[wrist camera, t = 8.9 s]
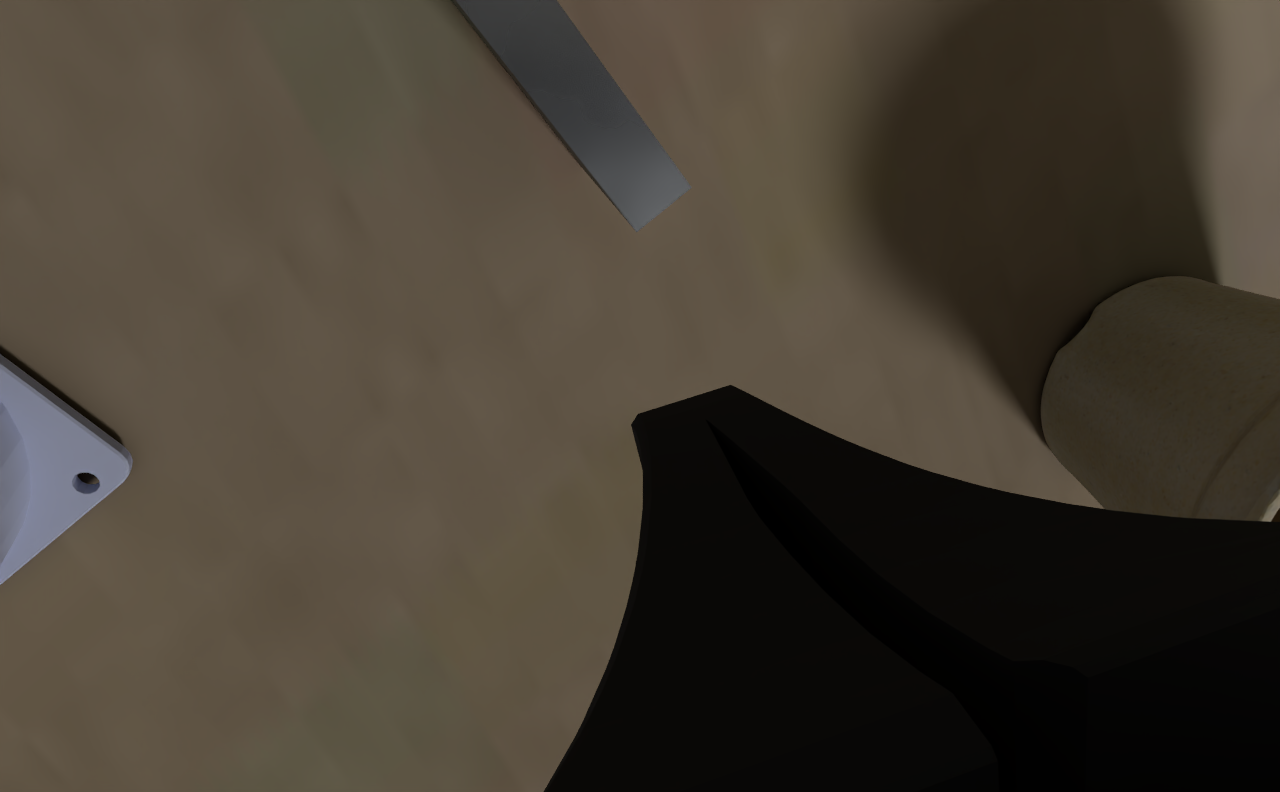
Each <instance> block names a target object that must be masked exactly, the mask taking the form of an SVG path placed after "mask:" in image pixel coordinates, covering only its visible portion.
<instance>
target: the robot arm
mask: <svg viewBox="0 0 1280 792" xmlns="http://www.w3.org/2000/svg"><path fill="white" fill-rule="evenodd" d="M631 426H632V430H633V434H634V438H635V442H636V446H637V449H638V453H639V457H640V461H641V465H642V469H643V511H642V521H641V530H640V539H639V548H638V555H637V561H636V566H635V572H634V577H633V582H632V586H631V590H630V594H629V599H628V603H627V607H626V610H625V613H624V617H623V620H622V623H621V627H620V630H619V633H618V636H617V640H616V643H615V646H614V649H613V651H612V654H611V657H610V660H609V663H608V665H607V668H606V670H605V672H604V675H603V677H602V679H601V682H600V684H599V686H598V688H597V691H596V693H595V695H594V698H593V700H592V702H591V704H590V707H589V709H588V711H587V713H586V716H585V718H584V720H583V722H582V724H581V726H580V728H579V730H578V732H577V734H576V736H575V738H574V740H573V742H572V743H571V745H570V747H569V749H568V750H567V752H566V754H565V756H564V757H563V759H562V761H561V762H560V764H559V766H558V768H557V769H556V771H555V773H554V775H553V776H552V778H551V780H550V782H549V783H548V785H547V787H546V789H545V790H544V792H1280V522H1269V521H1246V520H1223V519H1199V518H1182V517H1170V516H1161V515H1152V514H1142V513H1133V512H1124V511H1114V510H1107V509H1100V508H1093V507H1086V506H1079V505H1072V504H1066V503H1061V502H1056V501H1050V500H1045V499H1040V498H1035V497H1030V496H1024V495H1019V494H1014V493H1009V492H1005V491H1001V490H996V489H992V488H988V487H983V486H979V485H976V484H972V483H969V482H965V481H962V480H958V479H954V478H951V477H947V476H944V475H940V474H937V473H933V472H930V471H927V470H924V469H921V468H917V467H914V466H911V465H908V464H906V463H903V462H900V461H897V460H895V459H892V458H889V457H887V456H884V455H882V454H879V453H876V452H874V451H871V450H868V449H866V448H863V447H861V446H858V445H856V444H854V443H851V442H849V441H846V440H844V439H842V438H839V437H837V436H835V435H833V434H830V433H828V432H826V431H824V430H822V429H819V428H817V427H815V426H813V425H811V424H809V423H806V422H804V421H802V420H800V419H798V418H796V417H794V416H792V415H790V414H788V413H786V412H784V411H782V410H780V409H778V408H776V407H774V406H772V405H770V404H768V403H766V402H764V401H762V400H760V399H758V398H756V397H754V396H752V395H750V394H748V393H746V392H744V391H742V390H740V389H738V388H736V387H734V386H732V385H729V386H726V387H722V388H719V389H716V390H713V391H710V392H707V393H703V394H700V395H697V396H694V397H691V398H687V399H684V400H681V401H678V402H675V403H672V404H668V405H665V406H662V407H659V408H656V409H652V410H649V411H646V412H643V413H640V414H638V415H637V416H636V418H635V420H634V421H633V423H632V424H631ZM132 463H133V460H132V457H131V454H130V452H129V451H128V450H127V449H126V448H125V447H124V446H123V445H121V444H120V443H119V442H117V441H116V440H115V439H113V438H112V437H111V436H109V435H108V434H107V433H105V432H104V431H103V430H101V429H100V428H99V427H97V426H96V425H95V424H93V423H92V422H91V421H89V420H88V419H87V418H85V417H84V416H83V415H81V414H80V413H79V412H77V411H76V410H75V409H73V408H72V407H71V406H69V405H68V404H67V403H65V402H64V401H63V400H61V399H60V398H59V397H57V396H56V395H55V394H53V393H52V392H51V391H49V390H48V389H47V388H45V387H44V386H43V385H41V384H40V383H38V382H37V381H36V380H34V379H33V378H32V377H30V376H29V375H28V374H26V373H25V372H24V371H22V370H21V369H20V368H18V367H17V366H16V365H14V364H13V363H12V362H10V361H9V360H8V359H6V358H5V357H4V356H2V355H1V354H0V585H1V584H2V583H3V582H4V581H6V580H7V579H8V578H9V577H10V576H12V575H13V574H14V573H15V572H16V571H17V570H19V569H20V568H21V567H22V566H23V565H25V564H26V563H27V562H28V561H29V560H31V559H32V558H33V557H34V556H35V555H37V554H38V553H39V552H40V551H41V550H43V549H44V548H45V547H46V546H47V545H49V544H50V543H51V542H52V541H53V540H55V539H56V538H57V537H58V536H59V535H61V534H62V533H63V532H64V531H65V530H67V529H68V528H69V527H70V526H71V525H73V524H74V523H75V522H76V521H77V520H79V519H80V518H81V517H82V516H83V515H85V514H86V513H87V512H88V511H89V510H91V509H92V508H93V507H94V506H95V505H97V504H98V503H99V502H100V501H101V500H103V499H104V498H105V497H106V496H107V495H109V494H110V493H111V492H112V491H113V490H115V489H116V488H117V487H118V486H119V485H120V484H122V483H123V482H124V481H125V479H126V478H127V477H128V475H129V473H130V471H131V469H132ZM79 473H91V474H93V475H95V476H96V477H97V478H98V479H99V483H97V484H87V483H84V482H82V481H81V480H80V479H79V478H78V476H77V474H79Z"/></svg>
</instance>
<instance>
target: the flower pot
mask: <svg viewBox="0 0 1280 792" xmlns="http://www.w3.org/2000/svg"><path fill="white" fill-rule="evenodd" d="M1041 422H1042V429H1043V433H1044V437H1045V440H1046V442H1047V444H1048V446H1049V448H1050V450H1051V451H1052V453H1053V454H1054V455H1055V457H1056V458H1057V459H1058V460H1059V462H1060V463H1061V464H1062V465H1063V466H1064V467H1065V468H1066V469H1067V470H1068V471H1069V472H1070V473H1071V474H1072V475H1073V476H1074V477H1075V478H1076V479H1077V480H1078V481H1079V482H1080V483H1081V484H1082V485H1083V486H1084V487H1085V488H1086V489H1087V490H1088V491H1089V492H1090V493H1091V495H1092V496H1093V497H1094V498H1095V499H1096V500H1097V501H1098V502H1099V503H1100V504H1101V505H1102V506H1103V507H1104V509H1107V510H1114V511H1124V512H1133V513H1142V514H1152V515H1161V516H1170V517H1182V518H1199V519H1223V520H1246V521H1269V522H1280V299H1276V298H1272V297H1268V296H1264V295H1259V294H1255V293H1251V292H1247V291H1243V290H1239V289H1235V288H1231V287H1227V286H1223V285H1219V284H1215V283H1210V282H1207V281H1204V280H1201V279H1197V278H1193V277H1185V276H1167V277H1159V278H1153V279H1150V280H1146V281H1143V282H1140V283H1137V284H1135V285H1132V286H1130V287H1128V288H1125V289H1123V290H1121V291H1119V292H1118V293H1116V294H1114V295H1113V296H1111V297H1109V298H1107V299H1106V300H1105V301H1103V302H1102V303H1100V304H1099V305H1098V306H1097V307H1096V308H1095V309H1094V311H1093V313H1092V315H1091V317H1090V319H1089V321H1088V322H1087V323H1086V325H1085V326H1084V328H1083V329H1082V330H1081V331H1080V332H1079V333H1078V334H1077V335H1076V336H1075V337H1074V338H1073V339H1072V340H1071V341H1070V342H1069V343H1068V344H1067V345H1065V346H1064V347H1062V348H1061V349H1060V350H1059V351H1058V352H1057V354H1056V356H1055V358H1054V360H1053V362H1052V364H1051V366H1050V369H1049V372H1048V375H1047V378H1046V381H1045V385H1044V388H1043V394H1042V399H1041Z"/></svg>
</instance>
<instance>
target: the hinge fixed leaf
mask: <svg viewBox="0 0 1280 792" xmlns="http://www.w3.org/2000/svg"><path fill="white" fill-rule="evenodd" d="M451 1H452V2H453V4H454V5H455V6H456V7H457V9H458V10H459V11H460V12H461V14H462V15H463V16H464V18H465V19H466V20H467V21H468V23H469V24H470V25H471V27H472V28H473V29H474V30H475V32H476V33H477V34H478V35H479V37H480V38H481V39H482V41H483V42H484V43H485V44H486V46H487V47H488V48H489V49H490V51H491V52H492V53H493V55H494V56H495V57H496V58H497V60H498V61H499V62H500V64H501V65H502V66H503V67H504V69H505V70H506V71H507V72H508V74H509V75H510V76H511V78H512V79H513V80H514V81H515V83H516V84H517V85H518V86H519V88H520V89H521V90H522V92H523V93H524V94H525V95H526V97H527V98H528V99H529V101H530V102H531V103H532V104H533V106H534V107H535V108H536V109H537V111H538V112H539V113H540V115H541V116H542V117H543V118H544V120H545V121H546V122H547V123H548V125H549V126H550V127H551V129H552V130H553V131H554V132H555V134H556V135H557V136H558V137H559V139H560V140H561V141H562V143H563V144H564V145H565V146H566V148H567V149H568V150H569V152H570V153H571V154H572V155H573V157H574V158H575V159H576V160H577V162H578V163H579V164H580V166H581V167H582V168H583V169H584V171H585V172H586V173H587V174H588V175H589V176H590V178H591V179H592V180H593V181H594V182H595V184H596V185H597V186H598V187H599V188H600V189H601V191H602V192H603V193H604V194H605V195H606V196H607V198H608V199H609V200H610V201H611V202H612V204H613V205H614V206H615V207H616V208H617V209H618V211H619V212H620V213H621V214H622V215H623V217H624V218H625V219H626V220H627V221H628V222H629V224H630V225H631V226H632V227H633V228H634V230H635V231H636V232H637V231H639V230H640V229H641V228H642V227H644V226H645V225H646V224H647V223H648V222H650V221H651V220H652V219H653V218H655V217H656V216H657V215H658V214H660V213H661V212H662V211H663V210H664V209H666V208H667V207H668V206H669V205H671V204H672V203H673V202H674V201H676V200H677V199H678V198H679V197H680V196H682V195H683V194H684V193H685V192H687V191H688V190H689V189H690V188H691V186H690V185H689V183H688V182H687V181H686V179H685V178H684V176H683V175H682V174H681V172H680V171H679V170H678V168H677V167H676V165H675V164H674V163H673V161H672V160H671V158H670V157H669V156H668V154H667V153H666V151H665V150H664V149H663V147H662V146H661V145H660V143H659V142H658V140H657V139H656V138H655V136H654V135H653V133H652V132H651V131H650V129H649V128H648V127H647V125H646V124H645V122H644V121H643V120H642V118H641V117H640V115H639V114H638V113H637V111H636V110H635V108H634V107H633V106H632V104H631V103H630V102H629V100H628V99H627V97H626V96H625V95H624V93H623V92H622V90H621V89H620V88H619V86H618V85H617V84H616V82H615V81H614V79H613V78H612V77H611V75H610V74H609V72H608V71H607V70H606V68H605V67H604V65H603V64H602V63H601V61H600V60H599V59H598V57H597V56H596V54H595V53H594V52H593V50H592V49H591V47H590V46H589V45H588V43H587V42H586V41H585V39H584V38H583V36H582V35H581V34H580V32H579V31H578V29H577V28H576V27H575V25H574V24H573V22H572V21H571V20H570V18H569V17H568V16H567V14H566V13H565V11H564V10H563V9H562V7H561V6H560V4H559V3H558V2H557V0H451Z"/></svg>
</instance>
